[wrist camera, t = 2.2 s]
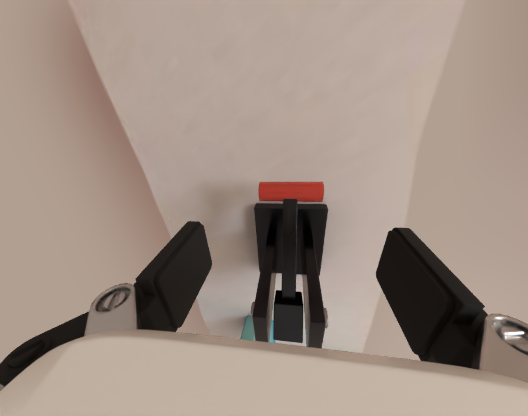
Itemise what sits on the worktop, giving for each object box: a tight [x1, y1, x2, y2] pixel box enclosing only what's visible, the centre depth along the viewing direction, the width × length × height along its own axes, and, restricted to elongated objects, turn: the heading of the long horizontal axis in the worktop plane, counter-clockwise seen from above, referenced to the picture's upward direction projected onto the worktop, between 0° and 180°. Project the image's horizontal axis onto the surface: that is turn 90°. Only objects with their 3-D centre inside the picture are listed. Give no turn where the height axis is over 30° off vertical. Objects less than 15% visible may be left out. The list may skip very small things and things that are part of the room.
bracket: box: [251, 203, 328, 348], centre depth 19 cm, size 10×8×12 cm
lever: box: [259, 182, 324, 343], centre depth 16 cm, size 12×5×2 cm, turn 0°
